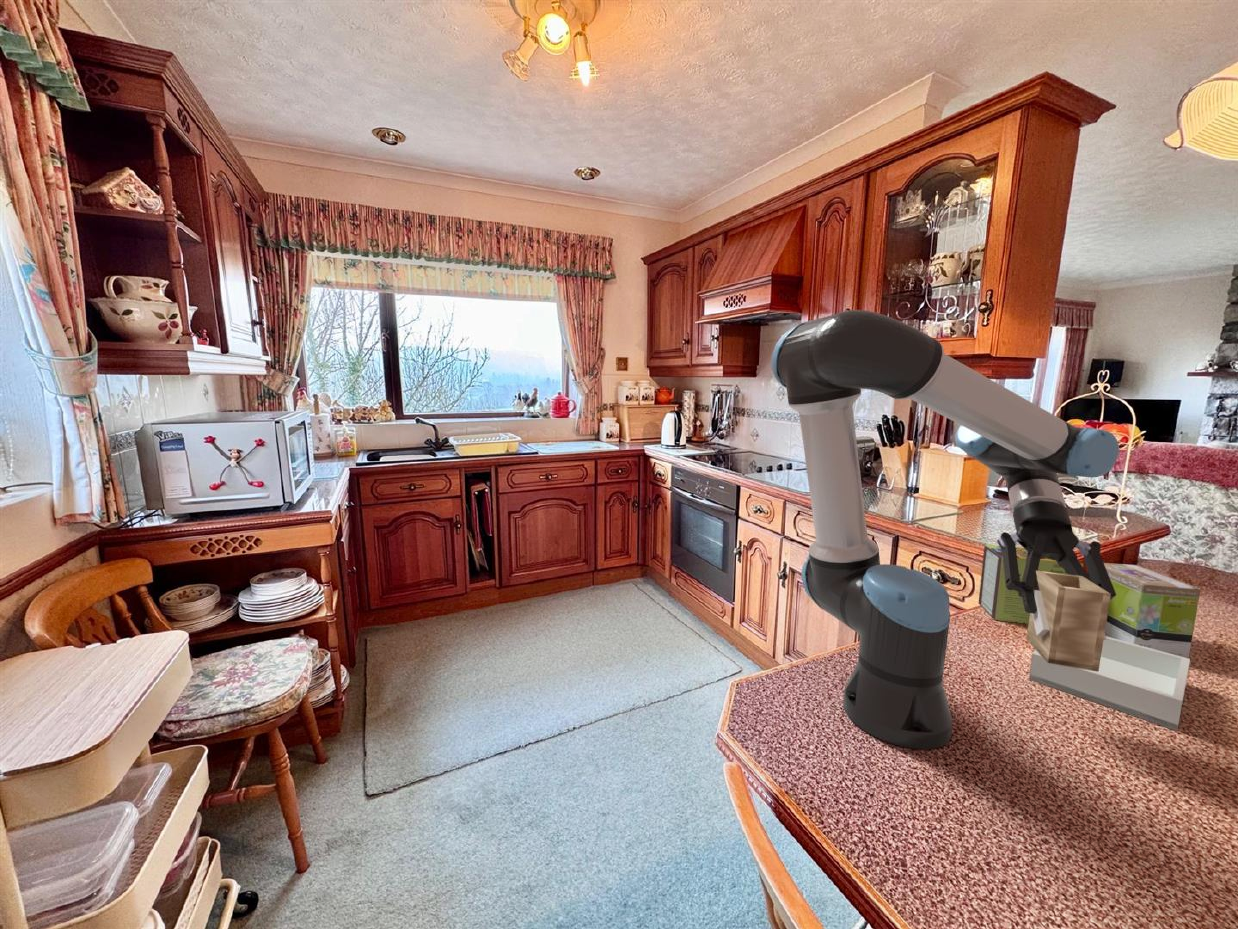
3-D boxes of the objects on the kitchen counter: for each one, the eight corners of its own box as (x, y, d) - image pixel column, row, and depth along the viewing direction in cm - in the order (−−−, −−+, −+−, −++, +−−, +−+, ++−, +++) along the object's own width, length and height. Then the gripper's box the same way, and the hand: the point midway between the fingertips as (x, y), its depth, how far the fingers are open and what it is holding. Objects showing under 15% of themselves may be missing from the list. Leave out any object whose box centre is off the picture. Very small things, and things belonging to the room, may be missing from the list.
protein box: (1076, 630, 109) (1085, 563, 107) (994, 620, 113) (1001, 556, 111) (1051, 611, 119) (1059, 549, 117) (976, 603, 123) (983, 543, 121)
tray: (1028, 679, 89) (1032, 653, 89) (1054, 645, 102) (1057, 623, 101) (1177, 731, 75) (1182, 701, 75) (1185, 685, 88) (1190, 659, 87)
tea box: (1191, 660, 97) (1203, 588, 95) (1131, 654, 99) (1142, 584, 97) (1129, 626, 111) (1139, 563, 109) (1078, 621, 113) (1086, 560, 111)
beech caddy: (1047, 663, 74) (1058, 587, 73) (1026, 639, 82) (1036, 570, 80) (1098, 671, 72) (1110, 593, 71) (1071, 647, 79) (1082, 576, 78)
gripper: (1096, 528, 87) (1138, 658, 74) (969, 516, 94) (987, 634, 81) (1118, 504, 81) (1168, 641, 68) (981, 494, 88) (1003, 616, 75)
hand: (1070, 637), depth 74 cm, fingers closed on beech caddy, 6 cm apart
